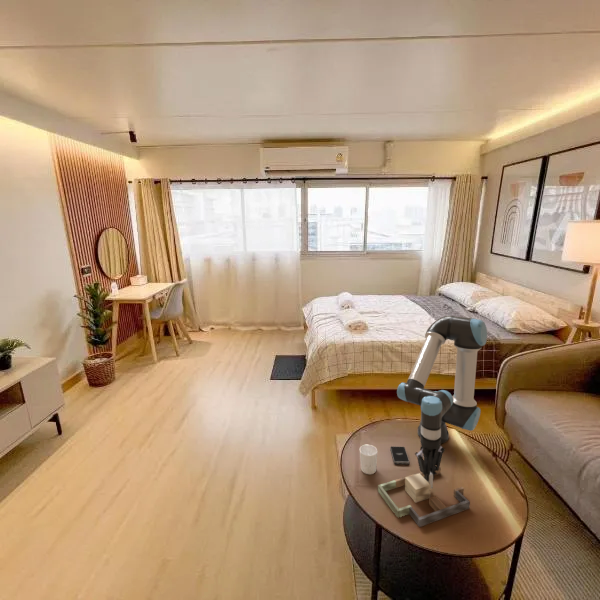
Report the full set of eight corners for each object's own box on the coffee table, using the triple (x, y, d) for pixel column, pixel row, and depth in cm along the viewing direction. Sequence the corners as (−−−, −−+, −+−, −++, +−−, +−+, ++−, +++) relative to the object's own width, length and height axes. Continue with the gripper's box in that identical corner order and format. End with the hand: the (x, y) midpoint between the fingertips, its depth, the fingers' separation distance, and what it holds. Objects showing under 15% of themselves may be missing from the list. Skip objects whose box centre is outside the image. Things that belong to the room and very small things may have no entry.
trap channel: (438, 471, 145) (439, 466, 144) (475, 506, 126) (476, 499, 126) (378, 491, 136) (378, 485, 135) (407, 531, 117) (407, 524, 116)
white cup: (366, 461, 154) (366, 442, 152) (380, 468, 149) (380, 449, 147) (356, 469, 149) (356, 450, 147) (371, 478, 143) (370, 458, 141)
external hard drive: (394, 465, 151) (394, 461, 151) (390, 449, 162) (390, 446, 162) (409, 465, 150) (409, 461, 150) (404, 450, 161) (404, 446, 161)
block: (419, 485, 138) (419, 473, 137) (430, 497, 131) (430, 485, 130) (404, 490, 136) (405, 477, 135) (415, 502, 129) (415, 489, 128)
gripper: (437, 426, 136) (435, 476, 140) (410, 433, 132) (409, 484, 136) (450, 436, 129) (448, 488, 133) (423, 444, 125) (421, 497, 129)
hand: (428, 486), depth 135 cm, fingers closed
